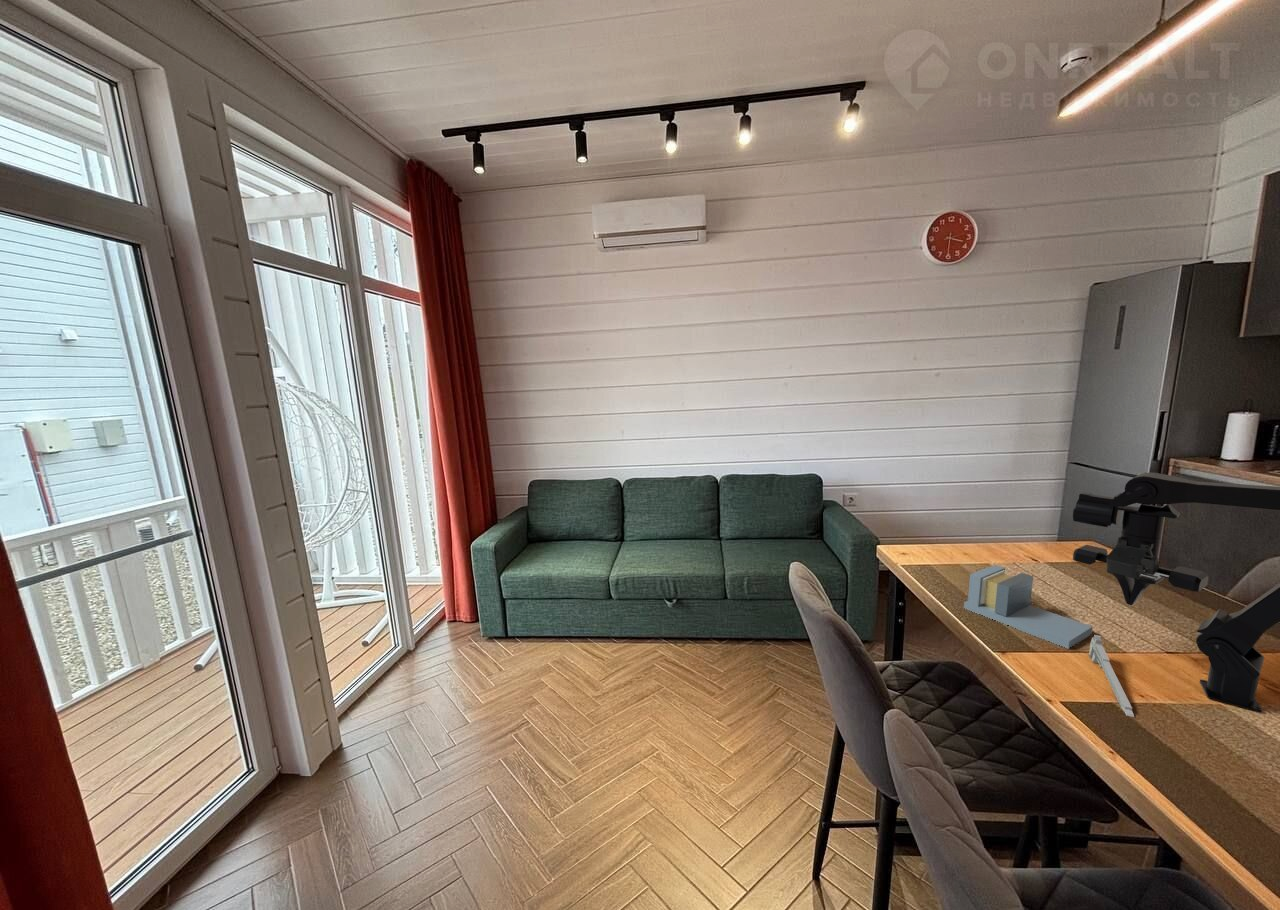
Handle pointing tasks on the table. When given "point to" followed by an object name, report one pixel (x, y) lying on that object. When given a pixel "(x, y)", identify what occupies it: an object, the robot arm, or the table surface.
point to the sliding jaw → (1013, 594)
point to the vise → (1026, 614)
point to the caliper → (1109, 673)
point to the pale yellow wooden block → (993, 589)
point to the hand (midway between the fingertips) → (1130, 604)
